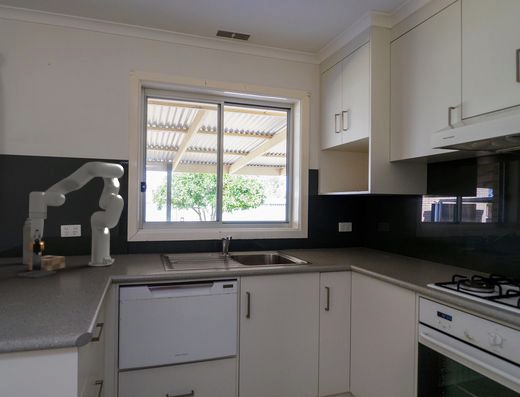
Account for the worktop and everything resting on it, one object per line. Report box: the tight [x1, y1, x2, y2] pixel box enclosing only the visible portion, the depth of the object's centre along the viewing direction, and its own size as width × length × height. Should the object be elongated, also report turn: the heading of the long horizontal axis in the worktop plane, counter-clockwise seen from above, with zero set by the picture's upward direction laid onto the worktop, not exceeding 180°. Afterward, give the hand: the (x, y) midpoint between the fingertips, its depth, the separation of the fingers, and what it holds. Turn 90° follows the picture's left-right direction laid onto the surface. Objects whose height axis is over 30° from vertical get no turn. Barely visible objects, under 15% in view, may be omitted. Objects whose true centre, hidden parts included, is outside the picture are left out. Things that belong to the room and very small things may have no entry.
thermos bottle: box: [22, 215, 34, 265], centre depth 202 cm, size 8×8×28 cm
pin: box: [30, 240, 45, 271], centre depth 174 cm, size 6×6×14 cm
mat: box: [16, 270, 57, 279], centre depth 174 cm, size 12×12×1 cm
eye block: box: [28, 255, 66, 271], centre depth 189 cm, size 12×12×6 cm
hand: (37, 250), depth 174 cm, fingers closed on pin, 6 cm apart
